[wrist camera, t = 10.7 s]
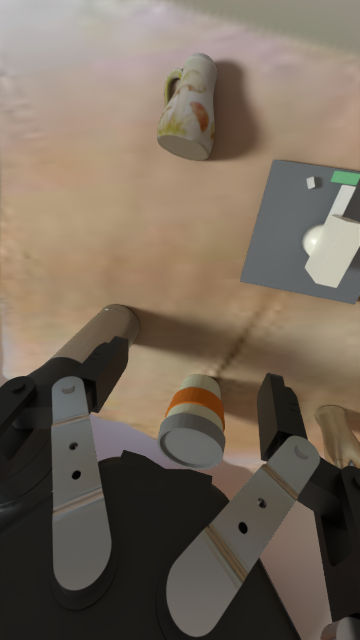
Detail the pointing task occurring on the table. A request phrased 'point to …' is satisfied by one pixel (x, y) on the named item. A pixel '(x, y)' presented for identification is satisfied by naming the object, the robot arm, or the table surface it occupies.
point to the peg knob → (332, 242)
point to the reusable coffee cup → (194, 425)
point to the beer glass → (338, 437)
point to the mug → (190, 110)
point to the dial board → (299, 229)
